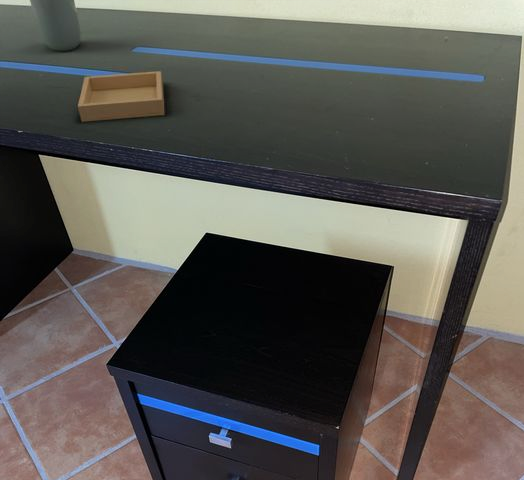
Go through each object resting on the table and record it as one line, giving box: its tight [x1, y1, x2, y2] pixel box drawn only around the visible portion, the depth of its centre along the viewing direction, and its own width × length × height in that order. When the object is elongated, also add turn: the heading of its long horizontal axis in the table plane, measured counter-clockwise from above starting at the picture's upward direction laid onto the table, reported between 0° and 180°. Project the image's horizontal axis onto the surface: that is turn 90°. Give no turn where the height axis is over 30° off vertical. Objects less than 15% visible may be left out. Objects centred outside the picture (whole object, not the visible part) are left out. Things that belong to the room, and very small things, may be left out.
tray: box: [77, 71, 166, 122], centre depth 84 cm, size 13×13×3 cm
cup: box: [29, 0, 82, 52], centre depth 102 cm, size 8×8×10 cm
